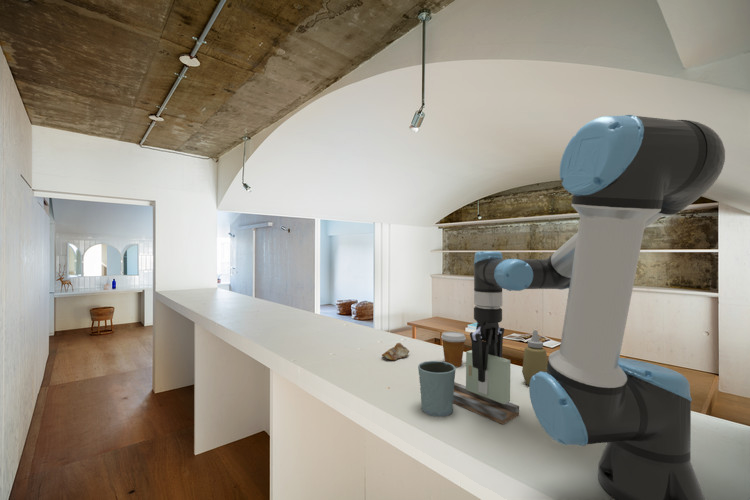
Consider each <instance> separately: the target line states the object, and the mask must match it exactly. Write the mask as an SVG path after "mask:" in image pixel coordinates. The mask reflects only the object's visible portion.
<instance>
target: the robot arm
mask: <svg viewBox="0 0 750 500" xmlns="http://www.w3.org/2000/svg"><path fill="white" fill-rule="evenodd" d="M724 145H725V144H724V142H723V141H722V138H721V137H720V135H719V134H718V133H717V132H716V131H715V130H714V129H712V127H709V126H707V125H706V124H703V123H701V122H699V121H693V120H689V119H670V118H661V117H660V118H658V117H651V116H650V117H648V116H642V115H641V116H639V115H633V114H627V115H626V114H625V115H604V116H603V115H602V116H600V117H597V118H593V119H592V120H590V121H588V122H587V123H585V124H584V125H582V127H579V129H578V130H577V132H576V134H575V135H573V136H572V137H571V139H570V140H569V141H568V143H567V145H566V147H565V149H564V150H563V153H562V157H561V160H560V163H559V178H560V179H559V180H561V181H562V182H561V185H562V187H563V188H564V190H565V191H566V192H568V193H570V194H572V198H571V204H570V205H571V207H572V208H573V209H574V210H575V211H576V212H577V213H578V215H579V220H578V221H579V223H578V228H577V232H576V233H574V234H573V235H572V237H570V238H569V239H567V241H566V242H565V243H564V244H562V245H561V246H560V247H559V248H557V250H555V251H554V252H553V253H552V254H551V255H549V257H547V258H545V259H541V258H536V259H535V258H534V259H532V258H529V259H528V258H527V259H526V258H503V254H502V252H501V251H494V250H493V251H486V250H485V251H480V250H479V251H476V252H475V254H474V259H473V287H474V288H473V304H474V307H473V319H474V321H476V329H475V331H474V332H471V331H470V332H469V338H470V341H471V350H472V363H473V367H474V368H477V369H478V392H481V393H483V394H486V395H488V390H489V370H486V369H487V360H488V354H490V355H494V356H497V357H501V358H503V343H504V342H503V340H504V333H505V328H504V327H500V324H499V323H501V322H502V321H503V309H502V306H503V290H506V291H509V292H511V291H515V292H517V291H518V292H521V291H524V290H567V289H568V294H567V299H566V305H565V306H566V307H565V313H564V320H563V324H562V325H563V326H562V331H561V332H562V333H561V339H560V345H559V349H557V350H555V351H553V352H550V354H549V356H548V358H547V363H548V365H547V371H546V372H541V371H540V372H539V373H536V374H535V375H533V376H532V378H531V380H530V385H528V386H529V387H528V389H529V391H528V392H529V398H530V404H531V406H532V410H533V412H534V414H535V417H536V419H537V420H538V423H539V424H540V426H541V428H542V429H543V430H544V432H545V433H546V434H547V435H548V436H549V437H550V438H551V439H553V440H554V441H555V442H557V443H559V444H561V445H565V446H582V447H584V446H586V445H595V444H602V443H603V444H604V443H605V444H606V445H605V447H604V449H603V452H602V454H601V456H600V459H599V461H598V464H597V478H598V479H597V480H598V481H599V484H600V486H601V487H602V488H603V489H604V490H605V492H606V493H607V494H609V496H611V497H612V498H613V499H614V500H705V496H704V494H703V491H702V488H701V485H700V482H699V480H698V476H697V475H696V472H695V469H694V467H693V464H692V460H691V457H692V455H691V453H692V452H691V450H692V449H691V448H692V446H691V434H692V433H691V431H692V428H691V427H692V422H691V420H692V419H691V418H692V416H691V415H692V413H691V412H692V411H691V410H692V409H691V408H692V405H691V403H692V401H693V399H692V396H691V387H690V386H691V385H690V382H689V380H688V378H687V377H686V376H685V375H683V374H682V373H680V372H678V371H676V370H673V369H671V368H668V367H664V366H661V365H658V364H654V363H651V362H646V361H642V360H637V359H632V358H624V357H620V356H621V351H622V348H623V347H622V346H623V342H624V336H625V329H626V325H627V321H628V316H629V315H628V314H629V311H630V310H629V309H630V305H631V299H632V294H633V289H634V284H635V279H636V274H637V269H638V263H639V260H640V259H639V258H640V253H641V247H642V242H643V236H644V232H645V229H646V228H648V227H649V226H651V225H652V224H654V223H655V222H656V221H658V220H659V219H660V218H662V217H663V216H666V217H668V216H669V217H671V216H675V215H677V214H679V213H680V212H681V211H683V210H685V209H686V208H687V207H689V206H690V205H692V204H693V203H694V202H696V201H697V200H698V199H699V198H701V197H702V196H703V195H704V194H705V193H706V192H707V191H708V190H709V189H711V187H712V186H713V185H714V184H715V182H717V180H718V178H719V177H720V175H721V174H722V171H723V169H724V165H725V162H726V161H725V160H726V150H725V147H724Z"/></svg>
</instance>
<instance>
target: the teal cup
mask: <svg viewBox="0 0 750 500" xmlns="http://www.w3.org/2000/svg"><path fill="white" fill-rule="evenodd" d="M456 369H457V367H455V366H454V365H452V364H450V363H447V362H445V361H442V360H429V361H427V360H426V361H423V362H421V363H419V364H418V375H419V377H418V379H419V380H418V381H419V386H420V388H419V389H420V401H421V402H420V404H421V405H420V406H421V410H422V412H423V413H425V415H429V416H433V417H447V416H450V415H452V413H453V410H454V405H453V404H454V403H453V397H454V396H453V394H454V392H453V391H454V382H455V380H456V379H455V378H456Z"/></svg>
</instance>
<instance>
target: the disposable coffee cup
mask: <svg viewBox="0 0 750 500" xmlns="http://www.w3.org/2000/svg"><path fill="white" fill-rule="evenodd" d="M440 337H441V340H442V350H443V356H444V362H447V363H450V364H452V365H454V366H455V368H460V367H462V362H463V357H464V349H465V341H466V339H467V338H466V336H465V333H464V332H458V331H443V332H442V333H441V336H440Z"/></svg>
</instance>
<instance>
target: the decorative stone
mask: <svg viewBox="0 0 750 500" xmlns="http://www.w3.org/2000/svg"><path fill="white" fill-rule="evenodd" d="M409 353H410V350H409V349H408V348H407V347H406V346H404V345H403V344H402V343H401V342H397V343H396V344H395V345H394V347H391V348H389V349H387V351H385V352H384V353H383V354H381V357H382V358H384V359H387V360H390V361H396V360H399V359H402V358H406V357H407V356H408V355H409Z"/></svg>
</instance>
